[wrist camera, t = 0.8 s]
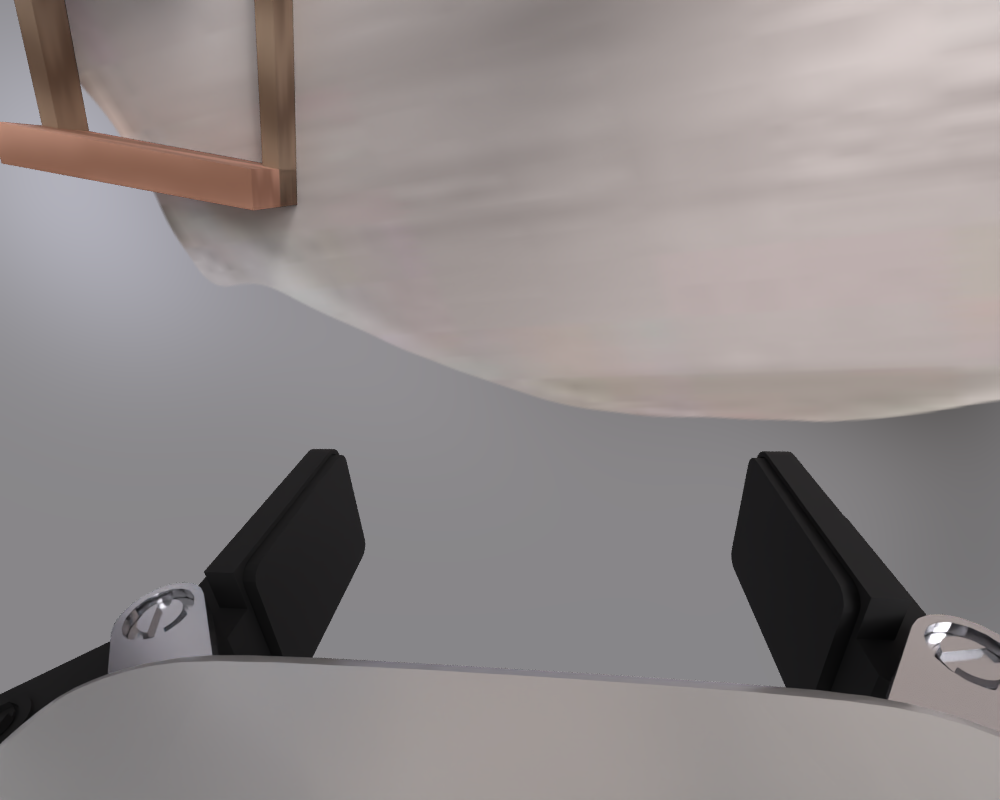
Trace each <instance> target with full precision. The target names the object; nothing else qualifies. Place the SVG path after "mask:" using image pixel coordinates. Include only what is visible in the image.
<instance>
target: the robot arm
mask: <svg viewBox="0 0 1000 800" xmlns="http://www.w3.org/2000/svg"><path fill="white" fill-rule="evenodd" d="M364 550H365V539H364V534H363V530H362V526H361V522H360V517H359V513H358V509H357V504H356V500H355V496H354V492H353V488H352V483H351V479H350V474H349V470H348V466H347V462H346V459H345V457H344V456H343V455H339V453H338V451H337V450H335V449H312V450H310V451H309V452H308V453H307V454H306V455H305V456H304V457H303V459H302V460H301V461H300V462H299V463H298V464H297V466H296V467H295V468H294V469H293V470H292V471H291V473H290V474H289V475H288V476H287V477H286V478H285V479H284V480H283V482H282V483H281V484H280V485H279V486H278V487H277V488H276V490H275V491H274V492H273V493H272V494H271V495H270V497H269V498H268V499H267V500H266V501H265V502H264V503H263V505H262V506H261V507H260V508H259V509H258V510H257V512H256V513H255V514H254V515H253V516H252V517H251V518H250V520H249V521H248V522H247V523H246V524H245V525H244V526H243V528H242V529H241V530H240V531H239V532H238V533H237V534H236V536H235V537H234V538H233V539H232V540H231V541H230V542H229V544H228V545H227V546H226V547H225V548H224V549H223V551H222V552H221V553H220V554H219V555H218V556H217V557H216V559H215V560H214V561H213V562H212V563H211V565H209V567H208V568H207V569H206V570H205V571H204V573H205V575H206V577H205V579H204V580H203V581H202V582H201V583H200V584H199V586H197V585H196V584H194V583H185V582H182V583H175V584H170V585H167V586H164V587H161V588H158V589H156V590H154V591H152V592H150V593H148V594H146V595H144V596H143V597H141V598H140V599H138V600H137V601H135V602H134V603H132V604H131V605H130V606H129V607H128V608H127V609H126V610H125V611H124V612H123V613H121V615H120V616H119V618H118V619H117V620H116V622H115V623H114V626H113V629H112V632H111V639H110V642H108V643H106V644H104V645H102V646H100V647H98V648H95V649H93V650H91V651H89V652H87V653H85V654H83V655H81V656H79V657H77V658H75V659H73V660H71V661H68V662H66V663H64V664H62V665H60V666H58V667H56V668H54V669H52V670H50V671H48V672H46V673H44V674H41V675H40V676H37V677H35V678H33V679H31V680H29V681H27V682H25V683H23V684H21V685H19V686H17V687H14V688H12V689H10V690H8V691H6V692H4V693H2V694H0V800H1000V635H999V634H997V633H995V632H993V631H991V630H989V629H987V628H985V627H983V626H981V625H979V624H977V623H974V622H971V621H968V620H965V619H962V618H959V617H954V616H949V615H943V614H942V615H941V614H936V615H926V614H925V613H924V611H923V610H922V609H921V608H920V607H919V605H918V604H917V603H916V602H915V600H914V599H913V598H912V597H911V596H910V594H909V593H908V592H907V591H906V590H905V588H904V587H903V586H902V585H901V584H900V582H899V581H898V580H897V579H896V577H895V576H894V575H893V574H892V573H891V571H890V570H889V569H888V568H887V566H886V565H885V564H884V563H883V562H882V560H881V559H880V558H879V557H878V555H877V554H876V553H875V552H874V551H873V549H872V548H871V547H870V546H869V545H868V543H867V542H866V541H865V540H864V538H863V537H862V536H861V535H860V534H859V532H858V531H857V530H856V529H855V527H854V526H853V525H852V524H851V523H850V521H849V520H848V519H847V518H845V516H843V515H842V513H841V512H840V511H839V509H838V508H837V507H836V506H835V505H834V503H833V502H832V501H831V500H830V499H829V497H828V496H827V495H826V494H825V492H823V490H822V489H821V488H820V486H819V485H818V484H817V483H816V482H815V480H814V479H813V478H812V476H811V475H810V474H809V473H808V472H807V470H806V469H805V468H804V467H803V465H802V464H801V463H800V462H799V461H798V460H797V458H796V457H795V456H794V455H793V454H792V453H791V452H767V451H764V452H760V453H759V455H758V457H757V458H752V459H750V461H749V465H748V469H747V474H746V479H745V485H744V490H743V495H742V500H741V505H740V510H739V516H738V521H737V526H736V531H735V536H734V541H733V546H732V553H731V555H732V563H733V567H734V570H735V572H736V575H737V577H738V579H739V581H740V584H741V586H742V588H743V590H744V593H745V595H746V597H747V599H748V602H749V604H750V606H751V609H752V611H753V613H754V616H755V618H756V620H757V622H758V624H759V627H760V629H761V632H762V634H763V636H764V638H765V641H766V643H767V645H768V647H769V650H770V652H771V654H772V657H773V659H774V661H775V663H776V666H777V668H778V670H779V673H780V675H781V677H782V679H783V681H784V684H785V686H786V687H773V686H760V685H749V684H737V683H724V682H709V681H695V680H680V679H664V678H649V677H634V676H619V675H604V674H589V673H573V672H557V671H540V670H523V669H508V668H490V667H474V666H458V665H441V664H422V663H405V662H386V661H367V660H350V659H332V658H312V657H313V655H314V653H315V651H316V649H317V647H318V645H319V643H320V641H321V639H322V637H323V635H324V633H325V631H326V629H327V627H328V625H329V623H330V621H331V619H332V617H333V615H334V613H335V611H336V609H337V607H338V605H339V603H340V601H341V599H342V597H343V595H344V593H345V591H346V589H347V587H348V585H349V583H350V581H351V579H352V577H353V575H354V573H355V571H356V569H357V567H358V565H359V563H360V561H361V559H362V556H363V554H364Z"/></svg>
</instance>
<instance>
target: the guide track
mask: <svg viewBox="0 0 1000 800" xmlns="http://www.w3.org/2000/svg"><path fill="white" fill-rule="evenodd" d="M14 2H15V7H16V11H17V16H18V20H19V24H20V29H21V33H22V37H23V42H24V47H25V51H26V55H27V60H28V64H29V69H30V73H31V78H32V82H33V87H34V91H35V95H36V100H37V104H38V109H39V113H40V118H41V122H42V125H29V124H19V123H9V122H0V159H1V162H2V163H3V164H8V165H14V166H19V167H24V168H30V169H35V170H40V171H46V172H51V173H56V174H62V175H67V176H73V177H78V178H83V179H89V180H95V181H100V182H105V183H110V184H115V185H121V186H126V187H132V188H137V189H142V190H147V191H153V192H158V193H163V194H169V195H174V196H179V197H185V198H190V199H195V200H201V201H206V202H212V203H217V204H222V205H228V206H233V207H238V208H244V209H249V210H260V209H268V208H276V207H284V206H291V205H297V179H296V134H295V88H294V43H293V0H254V3H255V23H256V43H257V63H258V83H259V104H260V124H261V144H262V163H259V162H253V161H248V160H242V159H237V158H231V157H226V156H221V155H215V154H210V153H204V152H199V151H193V150H188V149H183V148H177V147H172V146H166V145H161V144H156V143H150V142H145V141H139V140H134V139H128V138H123V137H118V136H112V135H106V134H101V133H96V132H90V131H89V129H88V124H87V118H86V114H85V108H84V103H83V97H82V92H81V86H80V81H79V76H78V70H77V65H76V60H75V54H74V49H73V44H72V38H71V33H70V28H69V23H68V17H67V12H66V7H65V1H64V0H14Z"/></svg>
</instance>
